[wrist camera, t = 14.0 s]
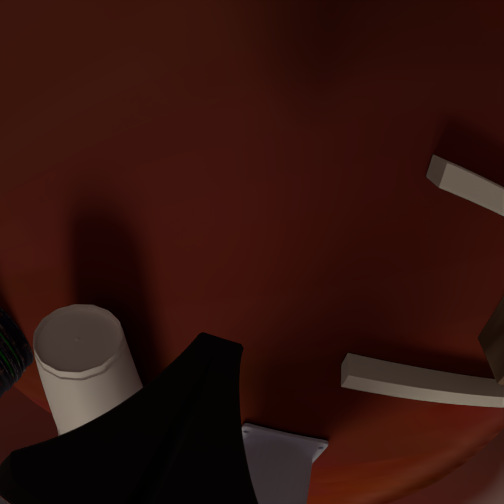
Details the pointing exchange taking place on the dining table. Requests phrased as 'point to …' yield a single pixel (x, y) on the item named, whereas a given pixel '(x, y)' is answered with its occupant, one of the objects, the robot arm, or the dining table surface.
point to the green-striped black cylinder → (12, 352)
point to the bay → (420, 379)
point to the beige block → (495, 342)
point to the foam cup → (83, 364)
